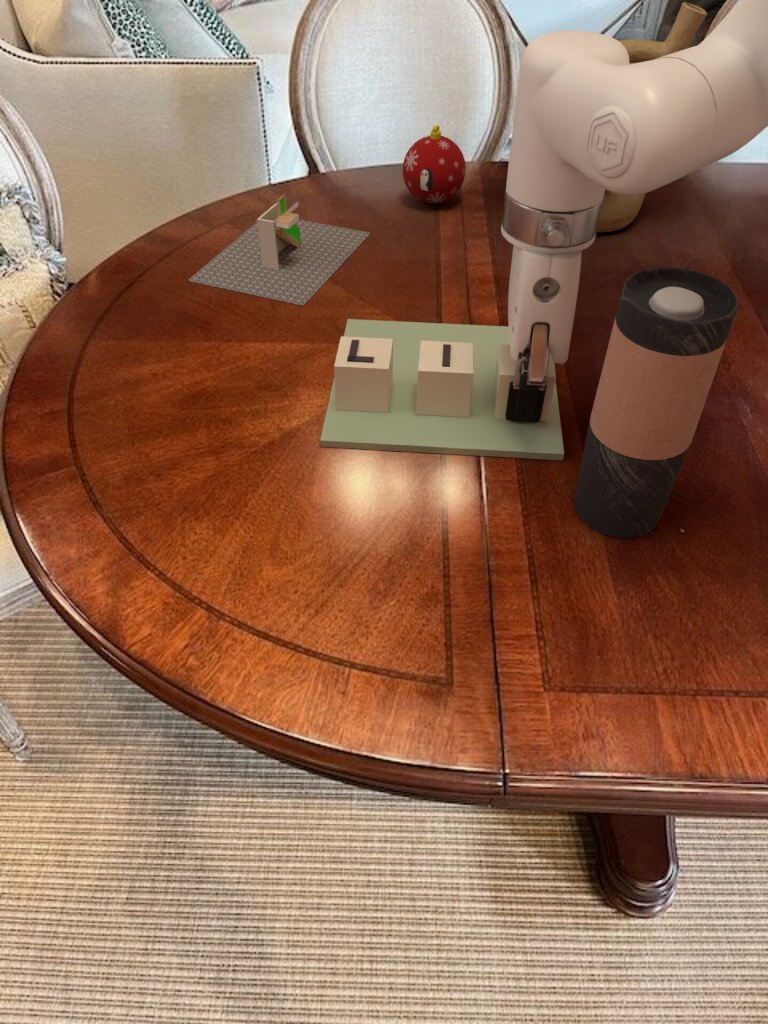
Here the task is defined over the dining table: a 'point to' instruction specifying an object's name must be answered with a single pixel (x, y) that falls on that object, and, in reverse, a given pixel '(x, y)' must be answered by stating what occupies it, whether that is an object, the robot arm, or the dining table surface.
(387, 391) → the tile
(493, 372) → the board
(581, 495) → the travel mug
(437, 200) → the christmas ornament
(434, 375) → the tile
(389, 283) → the dining table surface
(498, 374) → the tile
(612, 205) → the ceramic vessel
